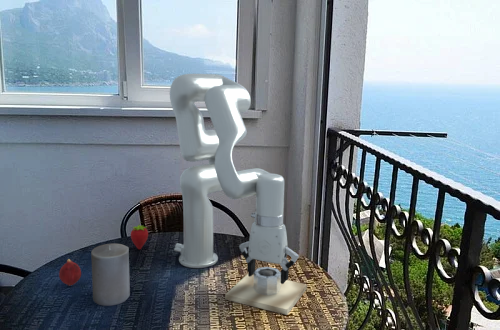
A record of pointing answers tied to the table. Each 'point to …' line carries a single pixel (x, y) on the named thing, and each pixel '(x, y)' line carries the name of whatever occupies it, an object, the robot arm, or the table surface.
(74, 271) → the onion
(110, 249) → the pillar candle
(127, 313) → the table surface
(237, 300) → the post board
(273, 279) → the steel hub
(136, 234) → the strawberry
